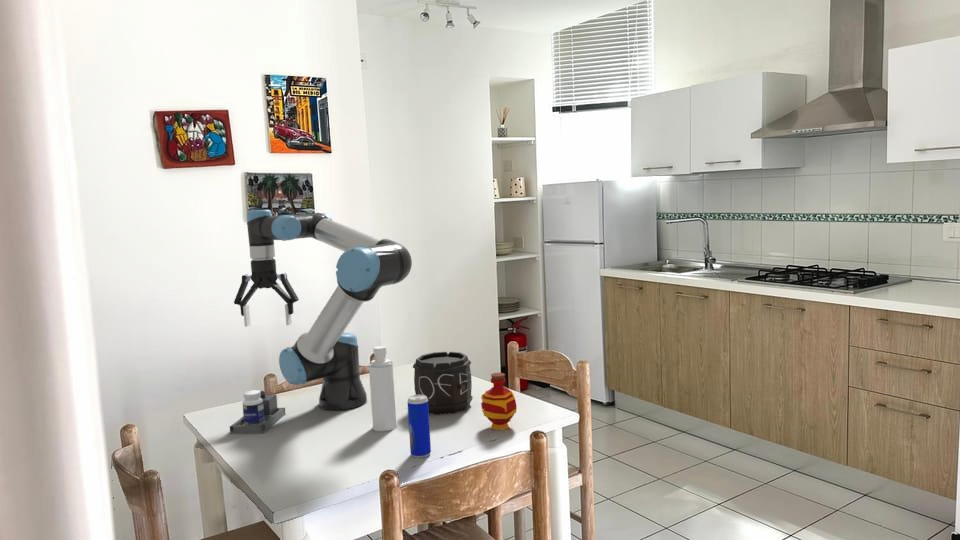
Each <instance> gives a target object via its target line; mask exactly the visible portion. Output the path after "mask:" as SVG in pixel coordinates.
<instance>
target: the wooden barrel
mask: <svg viewBox="0 0 960 540" xmlns="http://www.w3.org/2000/svg"><path fill="white" fill-rule="evenodd" d="M471 364H472V361H471V360H470V359H469V358H468V355H466V353H465V354H464V353H463V352H460V351H459V352H457V351H449V353H448V352H447V351H435V352H431V353H429V352H428V353H426V354H421V355H419V356H418V357H417V358H416V359H415V362H414V363H413V364H412V368H413V369H414V371H413V374H414V375H413V381H414V384H413V385H414V393H415V394H414V395H426V396H427V399H428V408H429V415H437V416H440V415H442V416H443V415H452V414H457V413H460V412H464V411H466V410H467V409H468V407H469V406H470V403H471V402H472V400H473V398H474V397H473V396H472V387H473V386H472V384H473V383H472V371H471Z"/></svg>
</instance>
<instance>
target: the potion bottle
mask: <svg viewBox="0 0 960 540" xmlns="http://www.w3.org/2000/svg"><path fill="white" fill-rule="evenodd" d="M490 376H491V378H490V383H491V384H493V386H492V387H491V388H489V389H488V390H486V391H485V392H484V393H483V394H481V398H480V399H481V401H482V402H481V403H480V405H481V406H480V407H481V411H482V413H483V416H484V417H486V418H487V419H488V420H489V421H490V422H491V425H490V427H491V429H492V430H496V431H500V430H501V431H502V430H506V429H508V428H510V424H509V422H511V419H512V418H513V417H514V415H515V414H516V413H517V410H518V407H517V403H516V398H515V394H514V393H513V391H512V390H510V389H509V388H508V387H507V386H505V385H504V383H506V378H505V376H506V374H505V373H503V372H493V373H491V374H490Z"/></svg>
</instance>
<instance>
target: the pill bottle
mask: <svg viewBox="0 0 960 540" xmlns="http://www.w3.org/2000/svg"><path fill="white" fill-rule="evenodd" d="M260 391H261V390H259V389H251V390H247V391H245V392H243V398H244V399H243V401H242V414H243V416H244V425H262V424H263V423H264V408H263V400H262V399H261V398H260V395H261V394H260ZM243 416H242V417H243Z"/></svg>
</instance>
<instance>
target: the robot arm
mask: <svg viewBox="0 0 960 540" xmlns="http://www.w3.org/2000/svg"><path fill="white" fill-rule="evenodd" d="M246 218H247V219H246V225H247V227H246V228H247V237H248V244H249V245H248V246H249V258H250V259H252V260H250V270H251V275H249V274H244V275H242V276H241V283H240V286H239V288H238V291H237V293H236V296H235V298H234V301H233V303H234V305H238V306H239V307H240V315H241V317H243V322H244V327H246V328H247V327H250V326H251V314H250V305H249V304H248V302H249V300H250V299H251V298H252V296H253V295H254V294H255V293H256V291H257V290H258V289H259V290H260V289H271V290H274V291H275V292H276V293H277V294H278V295H279V297H280V298H281V299H282V300H283V301H284V302H285V303H286V304H284V310H285V311H284V312H285V323H286V326H290V325H292V315H293V314H294V303H296V302H299V300H300V299H299V297H298V295H297V293H296V291H295V290H294V288H293V286H292V285H291V283H290V282H289V280H288V275H287V273H286V272H282V273H280V274H278V273H277V263H276V259H275V257H276V251H275V250H276V249H275V241H282V242H284V241H293V240H298V239H307V238H309V239H310V238H312V239H314V240H316V241H320V242H321V243H324V244H326V245H329V246H331V247H333V248H336V249H337V250H340V251H342V252H343V253H341V255H340V257H339V258H338V259H337V262H336V264H335V265H336V266H335V268H336V269H337V270H336V271H335V277H336V282H337V286H336V288H335V289H334V291H333V293H332V294H331V296H330V298H329V299H328V301H327V302H326V304H325V306H323V309H322V310H321V311H320V314H319V315H318V316H317V318H316V319H315V321H314V323H313V324H312V325H311V327H310V329H309V331H308V332H304V333H302V334H300V336H299V337H298V338H297V340H296V341H295V343H294V344H293V345H292V346H287V347H286V348H284V349H282V350H281V351H280V353H279V357H278V364H279V369H280V372H281V374H282V376H283V378H284V380H285V381H286V382H288V383H289V384H290V385H292V386H300V385H306V384H308V383H310V382H311V383H312V382H314V381H317V380H320V379H322V386H321V389H320V394H319V397H318V403H319V404H318V405H319V408H321V409H323V410H328V411H343V410H349V409H355V408H357V407H361V406H363V405H365V404H367V402H368V398H367V395H368V394H367V392H366V390H365V387H364V385H363V383H362V380H361V377H360V374H361V373H360V360H359V359H360V358H359V356H360V355H359V345H358V338H357V336H356V334H354V333H350V332H345V330H346V329H347V328H348V326H349V324H351V322H352V320H353V319H354V317H355V316H356V314H357V313H358V311H360V309H361V307H362V305H363V304H364V303H365V302H370V301H371V300H373V299H374V297H376V295H377V293H378V291H380V289H381V288H382V287H385V286H390V285H395V284H399V283H400V282H402V281H404V280H405V279H407V277H408V276H409V274H410V272H411V269H412V267H413V266H412V265H413V261H412V256H411V254H410V252H409V250H408V248H406V247H405V246H404V245H402V244H401V243H399V242H396V241H394V240H391V239H389V238H381V239H380V238H377V237H374V236H372V235H369V234H367V233H365V232H362V231H360V230H357V229H355V228H353V227H349V226H347V225H344V224H342V223H339V222H337V221H334V220H333V218H332V217H331V216H330V215H329V214H328V213H325V212H323V213H321V212H314V213H313V212H312V213H302V214H282V215H273V214H272V211H271V210H270V209H253V210H249V211H247V213H246ZM277 280H279V281H280V282H281V283H282V286H283V288H284V289H285V290H284V289H283V288H282V287H281V286H280V284H279V283H278V282H277ZM250 281H252V283H253V284H252V285H251V286H250V289H249V290H248V291H247V293H246V294H245V292H246V290H247V288H248V285H249V282H250Z"/></svg>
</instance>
